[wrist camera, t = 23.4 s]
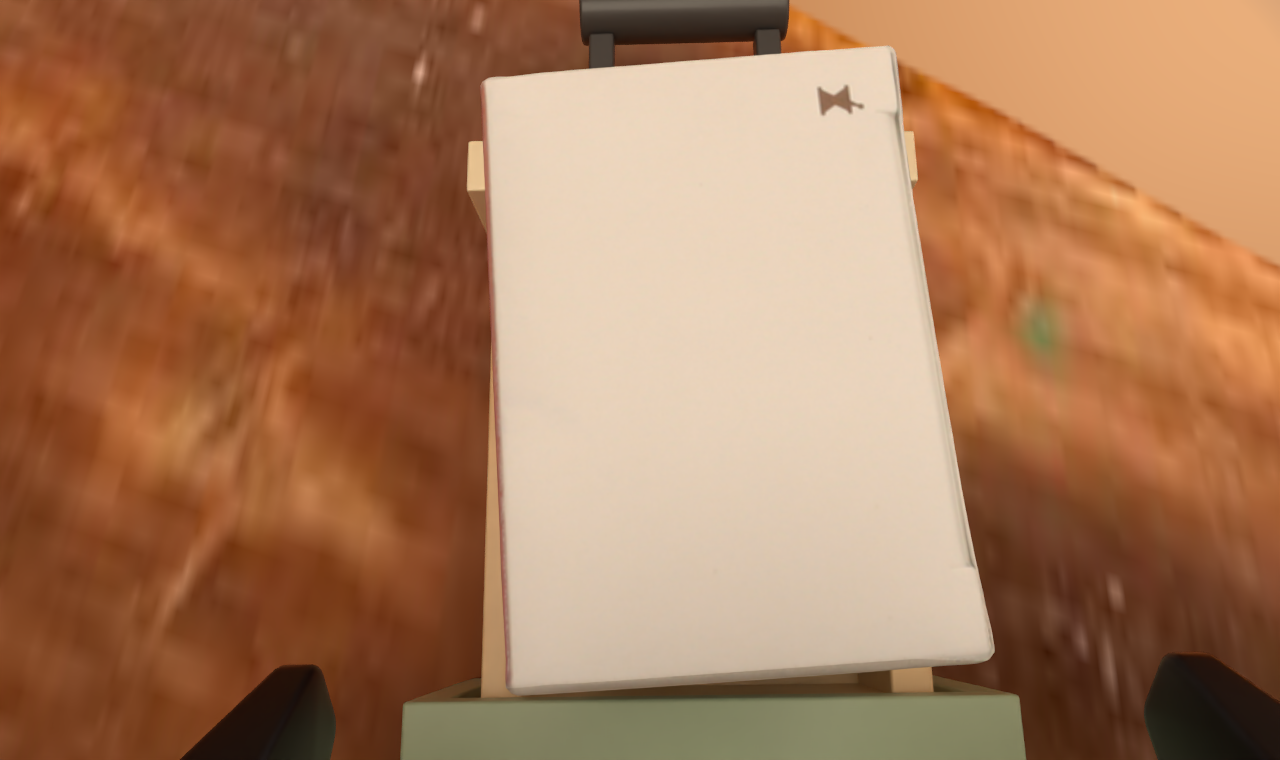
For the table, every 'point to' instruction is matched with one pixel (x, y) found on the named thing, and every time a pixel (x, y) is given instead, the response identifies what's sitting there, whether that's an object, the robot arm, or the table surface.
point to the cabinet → (716, 726)
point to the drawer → (609, 15)
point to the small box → (718, 379)
